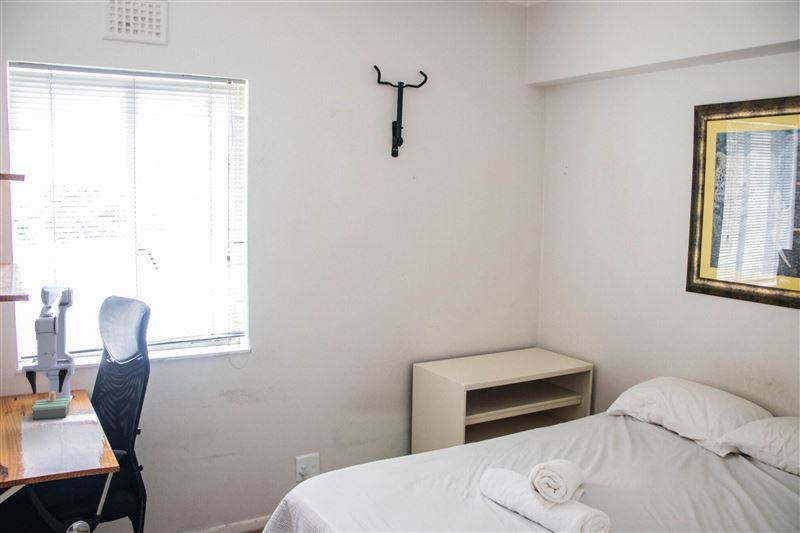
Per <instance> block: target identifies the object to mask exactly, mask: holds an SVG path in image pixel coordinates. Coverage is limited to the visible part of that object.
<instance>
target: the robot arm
mask: <svg viewBox="0 0 800 533" xmlns="http://www.w3.org/2000/svg"><path fill="white" fill-rule="evenodd" d="M73 293H74V292H73V286H72V285H47V286H46V285H43V286H42V287H41V294H40V295H41V296H40V297H41V302H42V304H43V307H42V308H41V311H40V313H39V317H38V318H36V319H35V321H34V332H35V338H36V339H35V340H36V348H37V349H36V350H37V351H36V352H37V353H36V355H37V361H36V362H37V364H35V365H34V364H33V365H24V366H22V367H21V371H22V372H21V373H22V374H25V377H26V379H27V381H28V383H29V385H30V388H31V390H32V391H31V392H32V394H33V395H36V394H37V373H42V372H43V375H44V377H45V378H47V380H48V399H50V393H51V391H56V399H60V398H70V402H69V403H71V402H72V399H73V398H74V395H72V394H71V377H73V376H74V374H75V369H76V368H75V358H74V355H73V354H71V353H70V352H69V351H67V349H66V348H67V337H66V336H67V333H66V331H67V329H66V328H67V326H66V325H67V323H66V322H67V320H66V319H67V315H66V314H67V309H68V308H71V307H73V303H74V302H73V298H74V295H73Z"/></svg>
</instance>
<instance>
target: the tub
mask: <svg viewBox="0 0 800 533" xmlns="http://www.w3.org/2000/svg"><path fill="white" fill-rule="evenodd" d="M70 403H71V402H70ZM70 403H69V404H68V406H67V408H64V409H49V410H34V411H32V420H35V421H36V420H46V419H47V420H48V419H49V420H50V419H60V418H61V419H62V418H63V419H64V418H66V417H67V415H68V414H69V411H70V407H71V406H70Z"/></svg>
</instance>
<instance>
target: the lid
mask: <svg viewBox="0 0 800 533" xmlns="http://www.w3.org/2000/svg"><path fill="white" fill-rule="evenodd" d="M69 402H70V398H60V399H56V391H51V393H50V399H49V398H46V399H37V400H36V401H35V403H34V405H33V406H32V407H31V411H32V412H33V411H34V410H49V409H64V408H67V406H68V404H69ZM70 403H71V402H70Z"/></svg>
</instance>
